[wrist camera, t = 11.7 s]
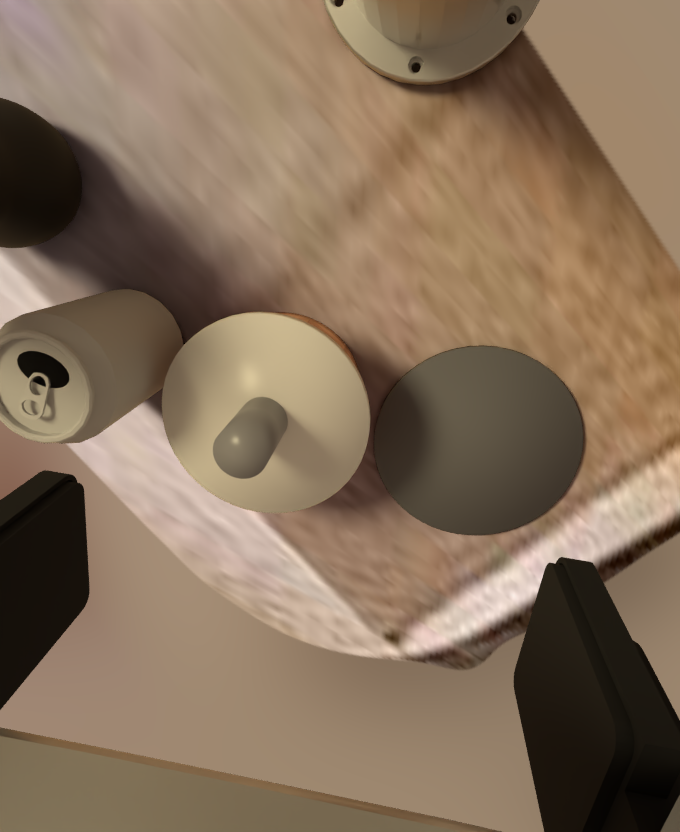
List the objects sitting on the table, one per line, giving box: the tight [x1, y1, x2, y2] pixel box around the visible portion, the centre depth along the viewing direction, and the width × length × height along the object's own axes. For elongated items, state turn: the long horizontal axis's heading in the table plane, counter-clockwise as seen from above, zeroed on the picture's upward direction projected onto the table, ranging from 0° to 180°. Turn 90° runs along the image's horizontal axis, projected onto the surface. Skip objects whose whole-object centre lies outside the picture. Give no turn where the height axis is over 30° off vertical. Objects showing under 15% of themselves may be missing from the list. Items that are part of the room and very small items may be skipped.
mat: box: [374, 346, 583, 535], centre depth 40 cm, size 14×14×1 cm
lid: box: [162, 311, 371, 513], centre depth 32 cm, size 13×13×6 cm
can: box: [0, 289, 183, 444], centre depth 35 cm, size 8×8×12 cm
